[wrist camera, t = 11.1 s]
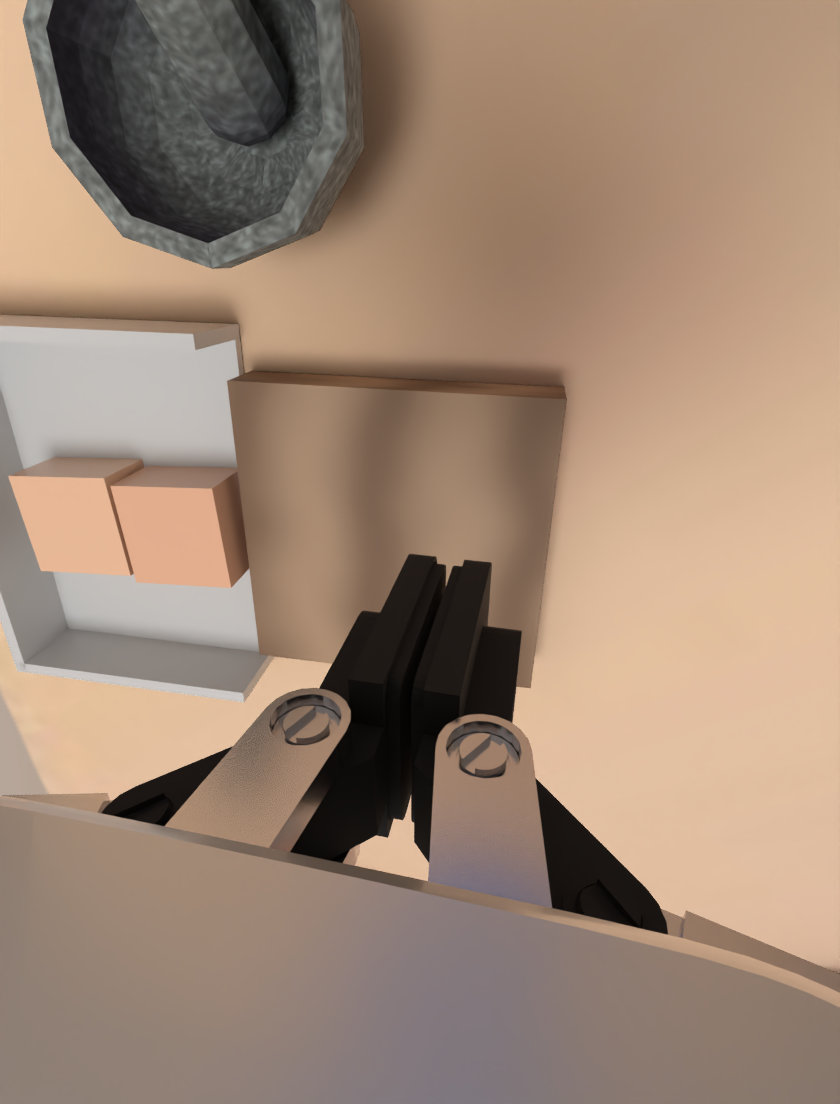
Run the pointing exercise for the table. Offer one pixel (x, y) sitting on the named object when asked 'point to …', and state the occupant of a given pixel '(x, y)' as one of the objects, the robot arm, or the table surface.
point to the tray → (159, 440)
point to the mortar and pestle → (203, 115)
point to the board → (390, 497)
